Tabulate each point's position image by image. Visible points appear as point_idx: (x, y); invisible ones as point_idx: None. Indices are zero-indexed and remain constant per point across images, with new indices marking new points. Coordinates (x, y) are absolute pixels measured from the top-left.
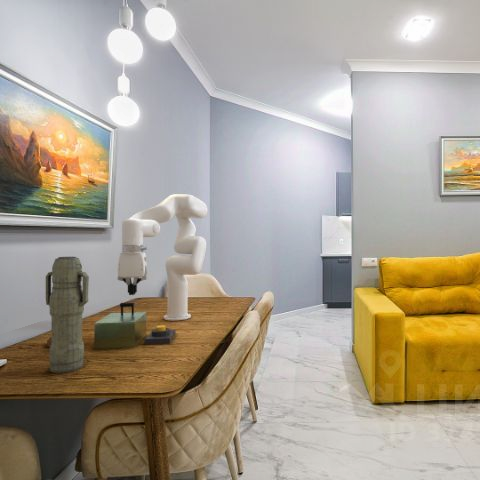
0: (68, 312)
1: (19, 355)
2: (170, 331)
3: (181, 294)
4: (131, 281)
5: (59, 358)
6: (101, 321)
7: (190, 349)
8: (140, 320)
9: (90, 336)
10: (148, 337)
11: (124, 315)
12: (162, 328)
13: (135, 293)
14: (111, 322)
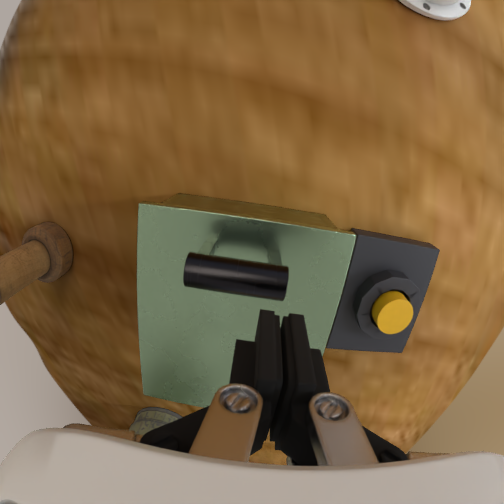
0: None
1: (25, 313)
2: (420, 273)
3: None
4: (258, 423)
5: None
6: (159, 381)
7: (426, 391)
8: None
9: (104, 165)
10: (339, 332)
11: (233, 296)
12: (396, 329)
13: (302, 316)
14: (206, 406)
